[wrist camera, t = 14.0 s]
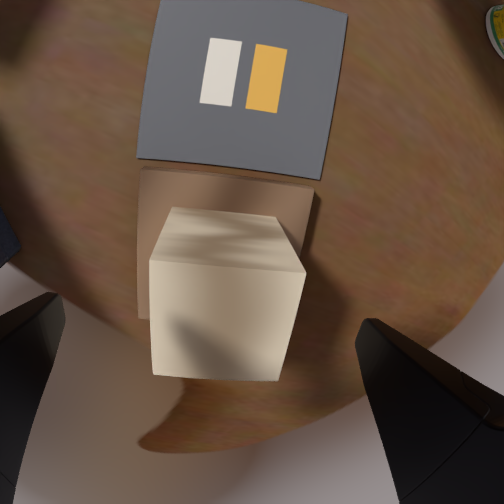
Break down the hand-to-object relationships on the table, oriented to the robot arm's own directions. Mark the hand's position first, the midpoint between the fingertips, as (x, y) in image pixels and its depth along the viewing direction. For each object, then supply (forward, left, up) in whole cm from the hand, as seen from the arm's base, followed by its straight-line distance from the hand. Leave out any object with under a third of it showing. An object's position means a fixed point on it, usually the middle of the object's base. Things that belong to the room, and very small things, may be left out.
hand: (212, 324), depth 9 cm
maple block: (-1, +3, -11) cm, 11 cm away
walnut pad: (-1, +3, -12) cm, 12 cm away
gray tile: (-1, -8, -12) cm, 14 cm away
